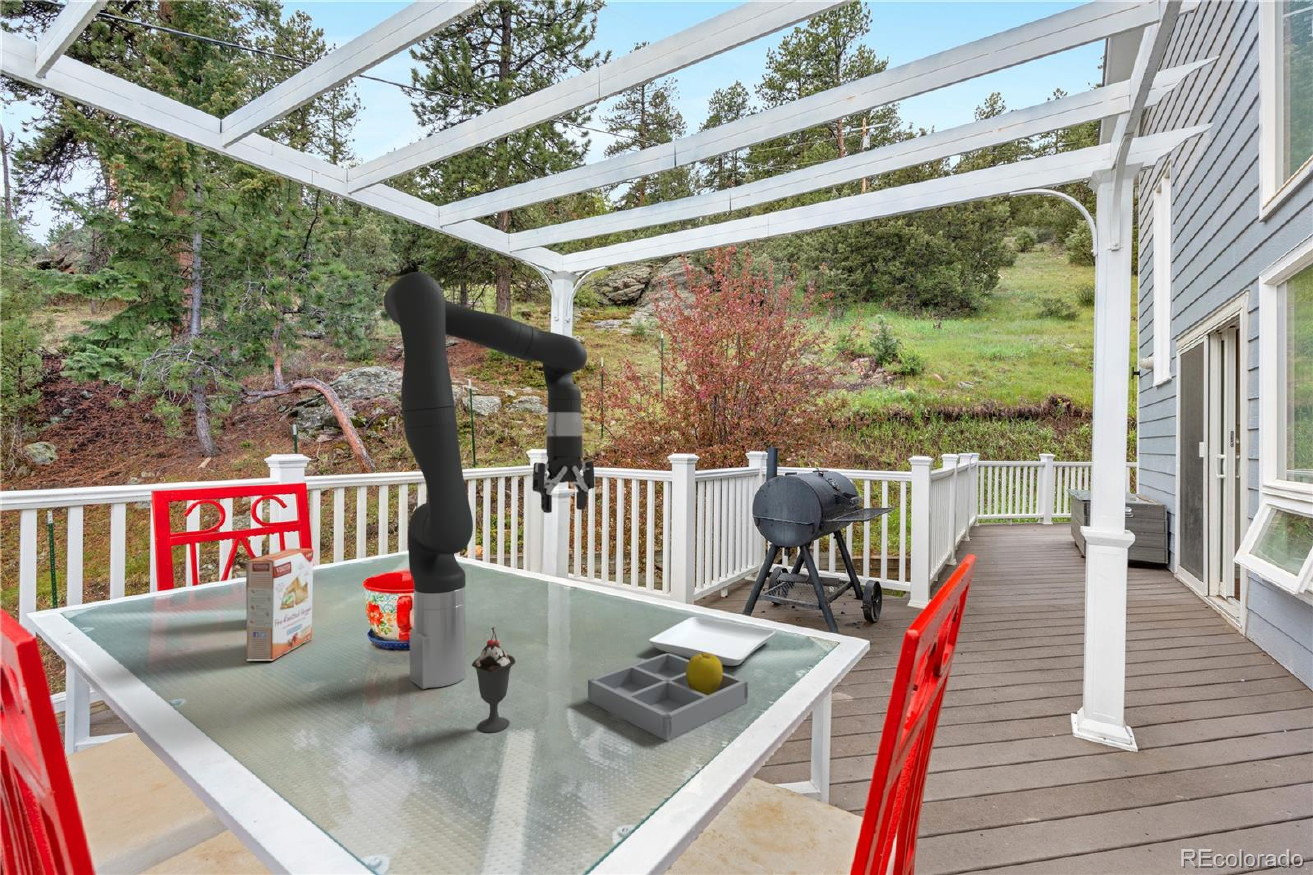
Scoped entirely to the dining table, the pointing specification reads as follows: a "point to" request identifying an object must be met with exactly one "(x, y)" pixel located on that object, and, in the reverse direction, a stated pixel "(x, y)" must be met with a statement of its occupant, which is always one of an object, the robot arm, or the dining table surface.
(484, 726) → the sundae
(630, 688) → the tray
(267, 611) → the cracker box
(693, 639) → the salad plate
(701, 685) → the apple
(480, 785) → the dining table surface
